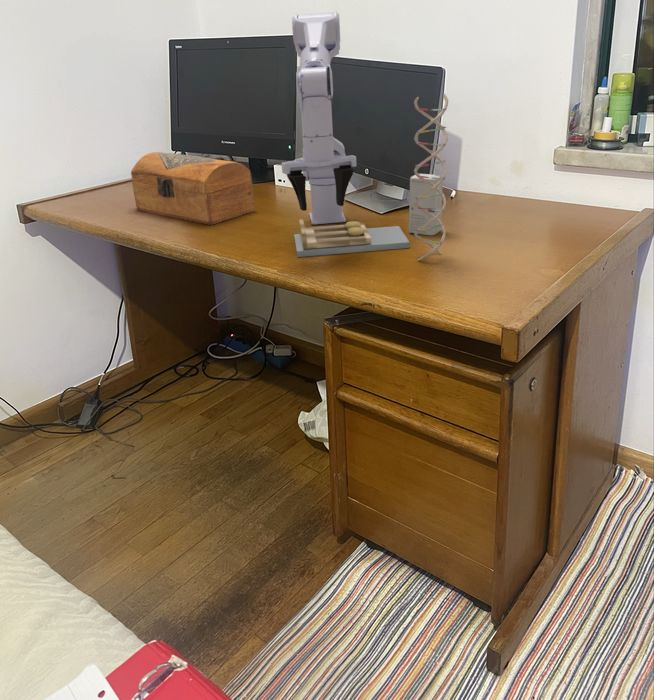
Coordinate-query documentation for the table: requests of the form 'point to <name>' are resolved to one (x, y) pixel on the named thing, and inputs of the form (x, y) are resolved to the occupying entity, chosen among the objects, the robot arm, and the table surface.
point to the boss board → (379, 241)
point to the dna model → (433, 154)
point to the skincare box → (424, 204)
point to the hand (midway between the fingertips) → (321, 207)
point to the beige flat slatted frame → (331, 236)
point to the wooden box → (192, 187)
